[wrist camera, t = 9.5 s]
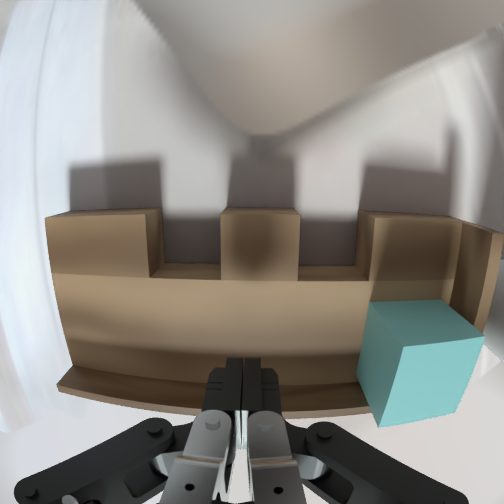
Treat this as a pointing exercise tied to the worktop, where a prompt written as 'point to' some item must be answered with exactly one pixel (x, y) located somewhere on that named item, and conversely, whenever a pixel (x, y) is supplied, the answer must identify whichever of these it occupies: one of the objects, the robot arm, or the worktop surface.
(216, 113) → the worktop surface
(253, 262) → the walnut tray
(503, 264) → the travel mug
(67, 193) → the worktop surface
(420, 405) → the teal block
